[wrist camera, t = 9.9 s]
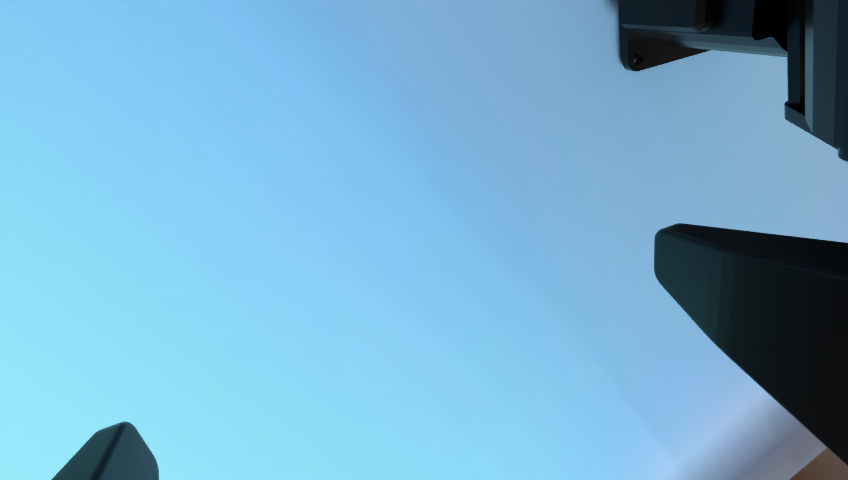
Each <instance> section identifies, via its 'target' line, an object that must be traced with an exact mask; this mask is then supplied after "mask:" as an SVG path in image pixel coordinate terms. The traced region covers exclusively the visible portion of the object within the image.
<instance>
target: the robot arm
mask: <svg viewBox="0 0 848 480" xmlns="http://www.w3.org/2000/svg"><path fill="white" fill-rule="evenodd" d="M620 20H621V35H622V64H623V66H624V68H625V69H627V70H631V71H640V70H644V69H647V68H651V67H654V66H658V65H661V64H664V63H668V62H671V61H675V60H678V59H682V58H685V57H689V56H692V55H696V54H699V53H703V52H706V51H710V50H718V51H729V52H739V53H749V54H760V55H770V56H781V57H787V68H788V101H787V102H785V119H786V120H788V121H789V122H791V123H793V124H795V125H796V126H798V127H800V128H801V129H803V130H805V131H807V132H808V133H810V134H812V135H813V136H815V137H817V138H819V139H820V140H822V141H824V142H825V143H827V144H829V145H831V146H832V147H834V148H836V149H837V150H838V156H839V158H841V159H842V160H844V161H846V162H848V0H620ZM636 53H637V56H638V57H637V60H636V62H635V63H634V62H633V58H634V56H635V54H636ZM654 272H655V275H656V278H657V280H658V281H659V283H660V284H661V285H662V286H663V287H664V289H665V290H666V291H667V292H668V293H669V294H670V295H671V296H672V297H673V299H674V300H675V301H676V302H677V303H678V304H679V305H680V306H681V307H682V309H683V310H684V311H685V312H686V313H687V314H688V315H689V316H690V317H691V319H692V320H693V321H694V322H695V323H696V324H697V325H698V326H699V328H700V329H701V330H702V331H703V332H704V333H705V334H706V335H707V336H708V337H709V338H710V339H711V340H712V342H713V343H714V344H715V345H716V346H717V347H718V348H719V349H721V350H722V351H723V352H724V353H725V354H726V355H727V356H728V357H729V358H730V359H731V360H732V361H733V362H734V363H736V364H737V365H738V366H739V367H740V368H741V369H742V370H743V371H744V372H745V373H746V374H748V375H749V376H750V377H751V378H752V379H753V380H754V381H755V382H756V383H757V384H758V385H760V386H761V387H762V388H763V389H764V390H765V391H766V392H767V393H768V394H769V395H770V396H772V397H773V398H774V399H775V400H776V401H777V402H778V403H779V404H780V405H781V406H782V407H784V408H785V409H786V410H787V411H788V412H789V413H790V414H791V415H792V416H793V417H794V418H796V419H797V420H798V421H799V422H800V423H801V424H802V425H803V426H804V427H805V428H806V429H808V430H809V431H810V432H811V433H812V434H813V435H814V436H815V437H816V438H817V439H819V440H820V441H821V442H822V443H823V444H824V445H825V446H826V447H827V448H828V449H829V450H831V451H832V452H833V453H834V454H835V455H836V456H837V457H838V458H839V459H840V460H841V461H843V462H844V463H845V464H846V465H847V466H848V243H843V242H835V241H826V240H818V239H809V238H801V237H793V236H784V235H776V234H767V233H759V232H750V231H742V230H733V229H725V228H716V227H708V226H699V225H691V224H682V223H679V224H674V225H671V226H669V227H666V228H663V229H660V230H659V231H658V232H657V233H656V235H655V243H654ZM52 480H159V470H158V465H157V462H156V459H155V457H154V455H153V454H152V452H151V451H150V449H149V448H148V446H147V445H146V443H145V442H144V440H143V439H142V437H141V436H140V434H139V433H138V431H137V429H136V428H135V427H134V426H133V425H132V424H131V423H130V422H121V423H118V424H115V425H112V426H110V427H107V428H104V429H101V430H99V431H97V432H96V433H95V434H94V435H93V436H92V437H91V438H90V439H89V440H88V441H87V442H86V443H85V444H84V445H83V447H82V448H81V449H80V450H79V451H78V452H77V453H76V454H75V455H74V456H73V457H72V458H71V459H70V460H69V462H68V463H67V464H66V465H65V466H64V467H63V468H62V469H61V470H60V471H59V472H58V473H57V474H56V475H55V477H54V478H53V479H52Z"/></svg>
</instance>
